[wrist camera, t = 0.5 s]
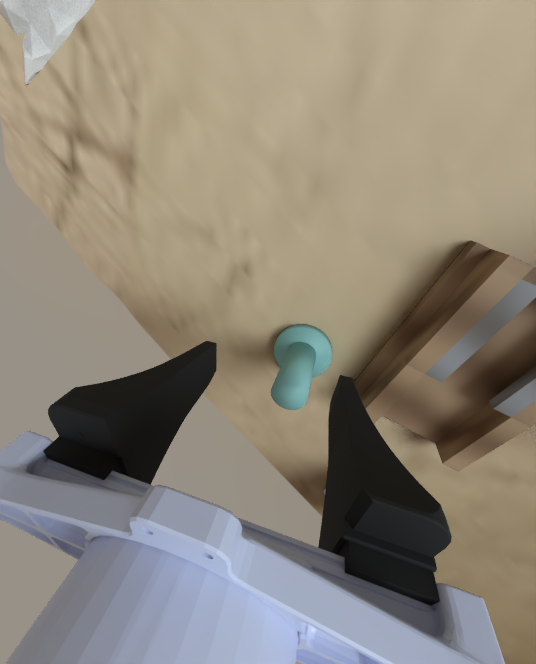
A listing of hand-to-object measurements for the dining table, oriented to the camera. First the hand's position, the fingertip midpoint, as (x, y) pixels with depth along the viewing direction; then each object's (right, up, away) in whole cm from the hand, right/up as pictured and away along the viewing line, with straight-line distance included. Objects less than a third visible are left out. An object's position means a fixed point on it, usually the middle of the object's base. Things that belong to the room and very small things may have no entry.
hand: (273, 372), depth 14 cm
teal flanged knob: (+3, +1, +11) cm, 11 cm away
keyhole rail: (+16, 0, +7) cm, 17 cm away
